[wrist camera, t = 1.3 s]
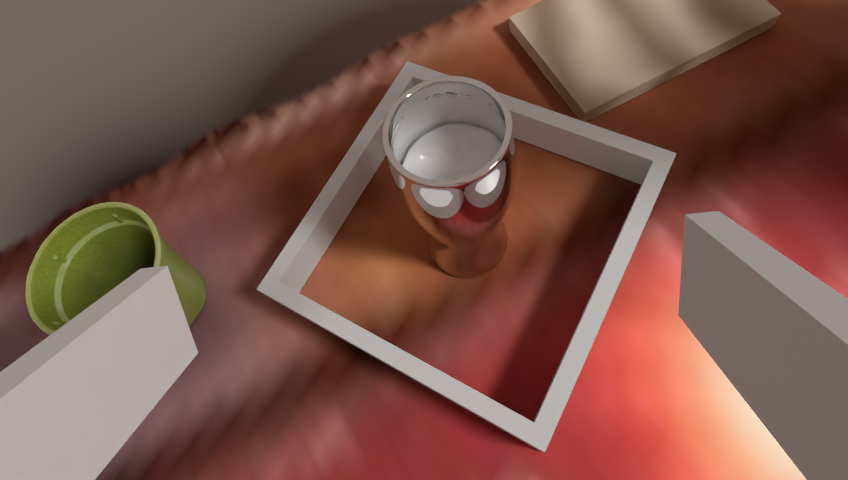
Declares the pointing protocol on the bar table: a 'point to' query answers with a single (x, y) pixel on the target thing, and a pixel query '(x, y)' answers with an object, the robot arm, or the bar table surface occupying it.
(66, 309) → the plant pot
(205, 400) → the bar table surface
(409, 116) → the beer glass
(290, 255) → the grey square frame
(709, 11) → the serving board
